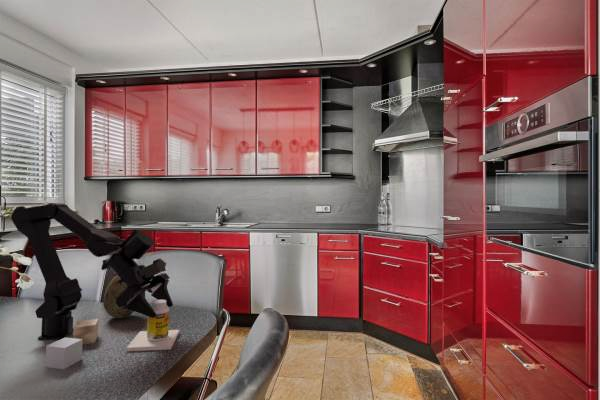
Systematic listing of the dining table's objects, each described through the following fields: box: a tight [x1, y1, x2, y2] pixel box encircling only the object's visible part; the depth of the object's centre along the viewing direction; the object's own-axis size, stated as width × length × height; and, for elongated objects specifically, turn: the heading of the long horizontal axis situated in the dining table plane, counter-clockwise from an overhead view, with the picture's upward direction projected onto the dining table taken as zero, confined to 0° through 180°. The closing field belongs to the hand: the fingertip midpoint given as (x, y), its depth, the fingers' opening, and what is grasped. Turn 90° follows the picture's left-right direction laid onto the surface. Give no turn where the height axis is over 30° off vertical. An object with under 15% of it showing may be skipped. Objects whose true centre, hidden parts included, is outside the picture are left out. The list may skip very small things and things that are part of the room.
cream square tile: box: [126, 329, 180, 352], centre depth 91 cm, size 11×11×1 cm
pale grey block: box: [45, 336, 83, 370], centre depth 78 cm, size 5×5×5 cm
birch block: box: [72, 318, 99, 345], centre depth 91 cm, size 5×5×5 cm
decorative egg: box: [103, 275, 135, 320], centre depth 109 cm, size 11×11×15 cm
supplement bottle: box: [146, 299, 170, 341], centre depth 91 cm, size 6×6×10 cm
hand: (163, 311), depth 91 cm, fingers open, 9 cm apart
